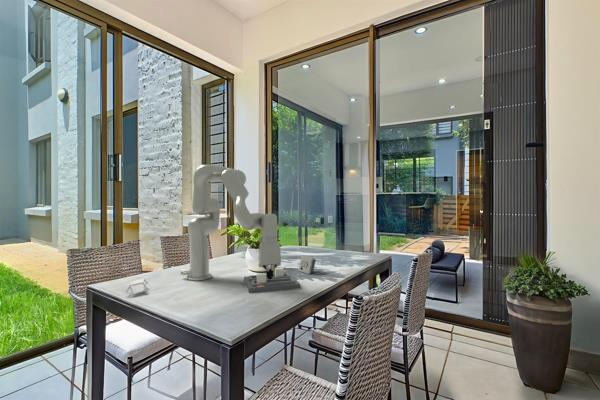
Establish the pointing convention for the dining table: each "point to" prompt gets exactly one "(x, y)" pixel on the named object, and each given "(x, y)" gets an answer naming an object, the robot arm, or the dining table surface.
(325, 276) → the dining table surface
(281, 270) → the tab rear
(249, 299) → the dining table surface
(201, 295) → the dining table surface
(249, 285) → the switch panel
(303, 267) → the electrical switch
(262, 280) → the tab front
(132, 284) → the origami figure
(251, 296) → the dining table surface
